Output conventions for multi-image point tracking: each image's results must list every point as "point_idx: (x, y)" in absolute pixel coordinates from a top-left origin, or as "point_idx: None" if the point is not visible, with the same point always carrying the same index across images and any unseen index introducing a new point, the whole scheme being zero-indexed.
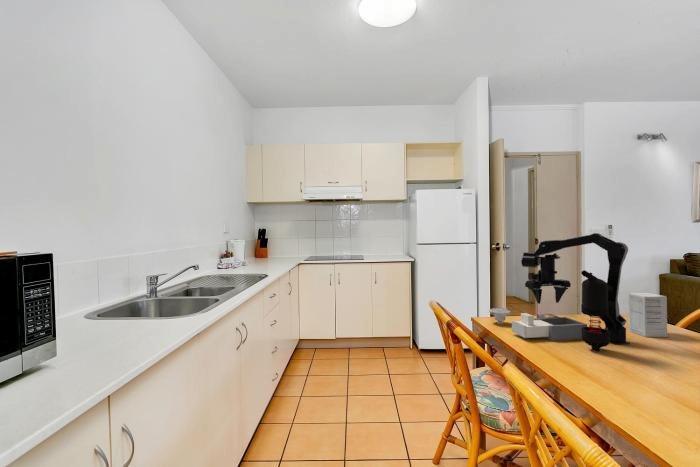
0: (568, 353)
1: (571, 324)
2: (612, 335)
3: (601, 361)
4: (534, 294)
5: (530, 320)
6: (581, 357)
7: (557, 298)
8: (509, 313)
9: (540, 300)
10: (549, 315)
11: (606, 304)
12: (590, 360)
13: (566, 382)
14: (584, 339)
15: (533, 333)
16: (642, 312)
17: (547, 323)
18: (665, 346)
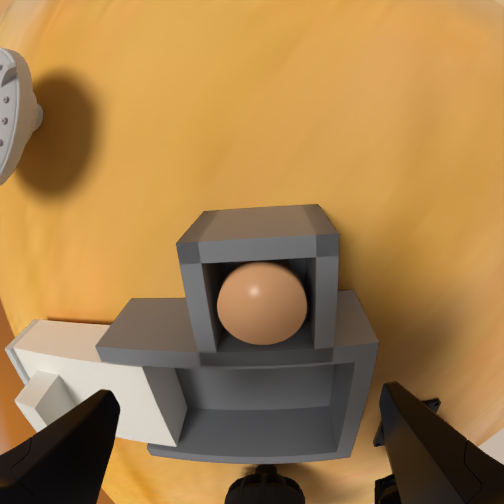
0: (170, 466)
1: (268, 458)
2: (387, 454)
3: (221, 494)
4: (20, 454)
5: None
6: (189, 481)
7: (394, 447)
8: (5, 172)
9: (109, 450)
10: (284, 285)
11: None
12: (199, 489)
13: (115, 497)
14: (234, 488)
15: None
16: None
17: (155, 422)
18: (474, 430)
